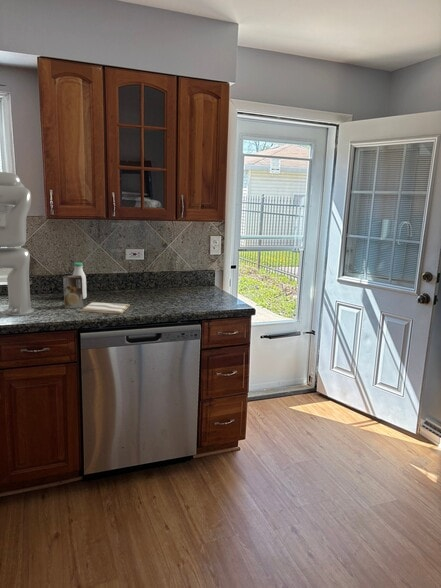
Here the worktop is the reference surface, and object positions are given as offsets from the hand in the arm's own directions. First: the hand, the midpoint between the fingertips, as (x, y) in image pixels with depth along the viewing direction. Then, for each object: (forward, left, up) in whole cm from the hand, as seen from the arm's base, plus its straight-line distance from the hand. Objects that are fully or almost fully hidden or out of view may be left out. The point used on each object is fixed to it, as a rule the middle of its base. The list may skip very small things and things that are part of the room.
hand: (8, 241), depth 230 cm
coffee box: (-16, -42, -31) cm, 54 cm away
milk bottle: (+2, -38, -31) cm, 49 cm away
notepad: (-16, -59, -30) cm, 68 cm away
